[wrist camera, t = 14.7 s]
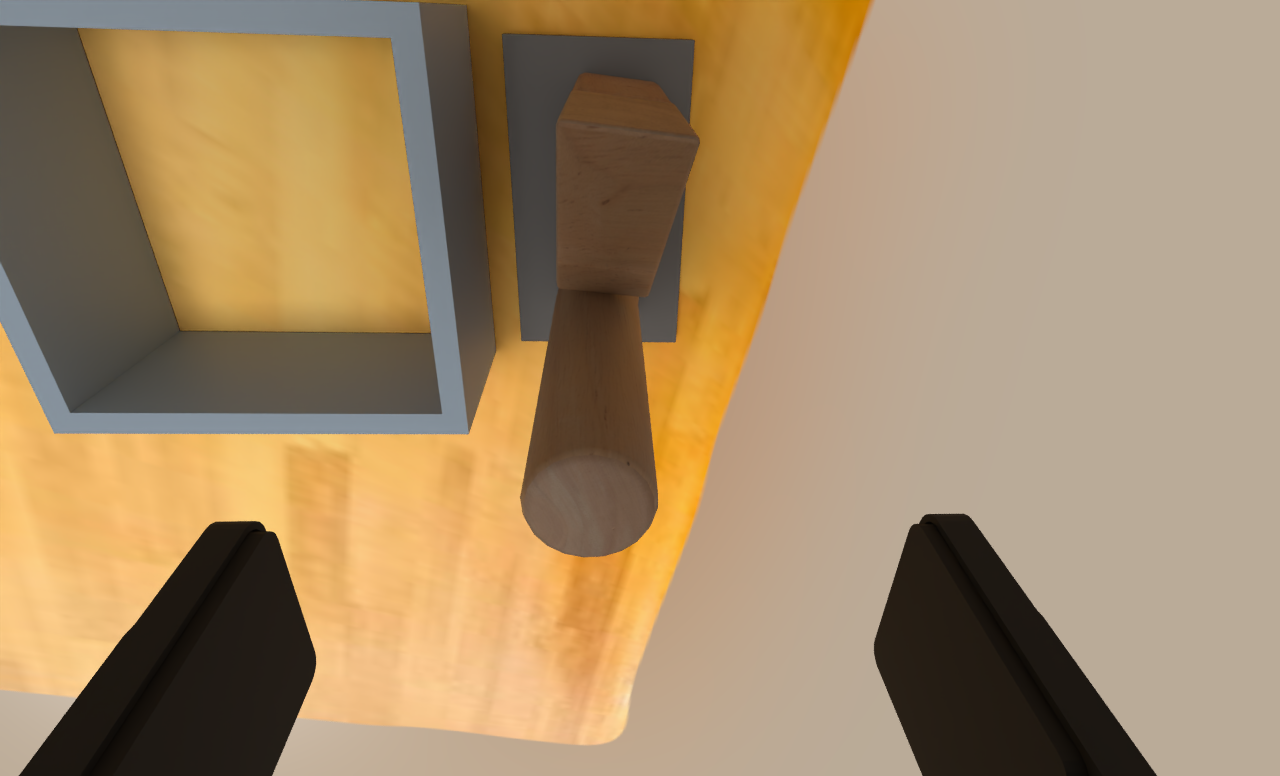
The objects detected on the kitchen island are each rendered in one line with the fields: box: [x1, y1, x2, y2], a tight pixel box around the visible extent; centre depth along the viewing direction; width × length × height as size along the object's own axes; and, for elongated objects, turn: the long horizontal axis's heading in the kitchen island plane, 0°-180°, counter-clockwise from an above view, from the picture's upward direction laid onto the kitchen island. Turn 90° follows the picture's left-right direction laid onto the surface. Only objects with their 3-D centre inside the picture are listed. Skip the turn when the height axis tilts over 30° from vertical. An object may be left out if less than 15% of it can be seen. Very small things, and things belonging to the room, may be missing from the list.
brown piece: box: [520, 73, 700, 557], centre depth 23 cm, size 4×11×18 cm, turn 173°
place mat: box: [502, 34, 695, 342], centre depth 31 cm, size 14×8×1 cm, turn 178°
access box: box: [0, 0, 496, 434], centre depth 27 cm, size 16×17×8 cm
